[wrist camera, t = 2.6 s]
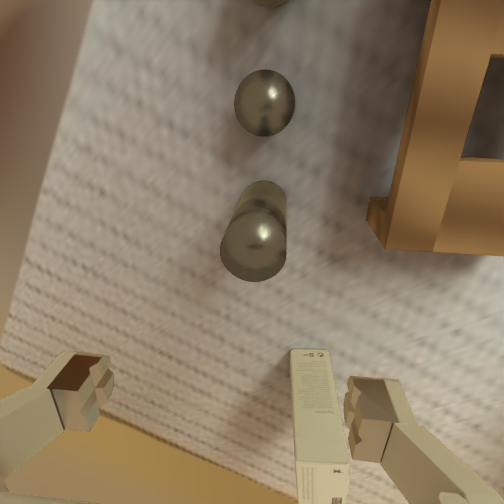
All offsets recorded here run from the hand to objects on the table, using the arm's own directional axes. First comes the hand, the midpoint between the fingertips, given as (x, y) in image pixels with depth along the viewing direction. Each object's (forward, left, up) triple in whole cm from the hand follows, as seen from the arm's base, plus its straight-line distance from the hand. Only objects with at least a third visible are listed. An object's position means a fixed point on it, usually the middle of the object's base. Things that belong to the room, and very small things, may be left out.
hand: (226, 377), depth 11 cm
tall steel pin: (0, 0, -20) cm, 20 cm away
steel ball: (-8, 0, -20) cm, 21 cm away
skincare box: (+19, +6, -20) cm, 28 cm away
